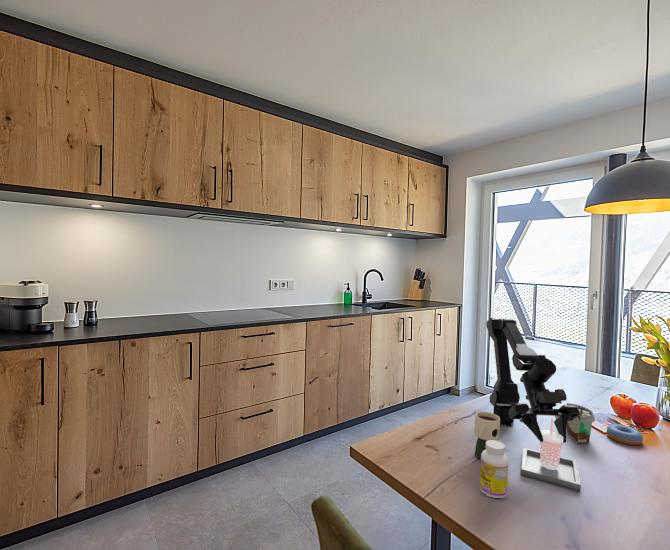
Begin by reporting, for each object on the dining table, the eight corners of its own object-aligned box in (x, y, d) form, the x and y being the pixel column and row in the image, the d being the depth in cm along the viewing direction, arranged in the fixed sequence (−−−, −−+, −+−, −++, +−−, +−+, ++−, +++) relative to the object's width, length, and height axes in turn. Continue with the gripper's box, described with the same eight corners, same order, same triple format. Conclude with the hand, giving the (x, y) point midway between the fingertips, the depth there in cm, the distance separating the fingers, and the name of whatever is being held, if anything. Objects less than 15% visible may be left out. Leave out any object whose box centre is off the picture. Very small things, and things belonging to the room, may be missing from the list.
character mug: (492, 469, 108) (494, 425, 107) (467, 460, 112) (469, 418, 112) (502, 454, 116) (504, 413, 116) (479, 446, 121) (481, 407, 120)
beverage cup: (563, 473, 104) (566, 424, 103) (539, 468, 106) (541, 420, 105) (559, 462, 110) (562, 415, 109) (535, 457, 112) (538, 412, 111)
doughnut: (646, 439, 128) (645, 426, 128) (640, 450, 122) (639, 437, 122) (611, 432, 136) (610, 419, 136) (603, 442, 129) (602, 428, 129)
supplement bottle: (474, 484, 101) (477, 438, 100) (498, 483, 101) (500, 437, 101) (487, 500, 94) (489, 451, 93) (512, 499, 95) (514, 450, 94)
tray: (521, 475, 105) (521, 469, 105) (523, 453, 117) (523, 447, 117) (580, 492, 98) (580, 484, 98) (576, 466, 111) (576, 460, 110)
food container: (600, 448, 122) (602, 418, 121) (579, 446, 123) (581, 416, 122) (583, 431, 134) (585, 404, 133) (564, 429, 135) (566, 402, 134)
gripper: (514, 377, 111) (531, 431, 100) (578, 379, 110) (601, 433, 100) (502, 393, 119) (516, 444, 109) (561, 394, 119) (581, 446, 108)
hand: (553, 442), depth 106 cm, fingers closed on beverage cup, 6 cm apart
